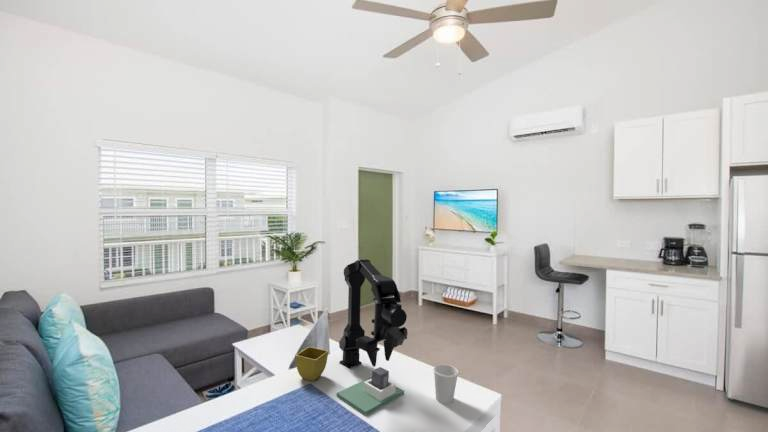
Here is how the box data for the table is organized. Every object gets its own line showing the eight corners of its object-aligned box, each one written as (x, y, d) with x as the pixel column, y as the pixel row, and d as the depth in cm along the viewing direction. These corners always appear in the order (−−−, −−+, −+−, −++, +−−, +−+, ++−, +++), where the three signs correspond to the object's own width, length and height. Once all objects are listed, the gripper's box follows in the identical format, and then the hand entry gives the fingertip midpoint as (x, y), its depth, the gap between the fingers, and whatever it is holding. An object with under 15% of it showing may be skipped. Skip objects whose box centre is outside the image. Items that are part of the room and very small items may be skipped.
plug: (370, 391, 115) (372, 370, 115) (379, 387, 118) (380, 366, 118) (380, 396, 112) (381, 375, 112) (388, 392, 115) (389, 371, 115)
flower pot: (293, 379, 123) (294, 354, 123) (307, 369, 131) (309, 346, 131) (314, 385, 120) (315, 360, 120) (327, 374, 128) (328, 350, 128)
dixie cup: (429, 402, 113) (430, 372, 113) (434, 390, 121) (436, 362, 121) (454, 409, 110) (456, 378, 110) (458, 396, 118) (460, 367, 117)
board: (336, 396, 114) (336, 383, 114) (375, 378, 127) (375, 367, 127) (365, 415, 104) (366, 402, 104) (403, 394, 117) (404, 382, 117)
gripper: (380, 330, 102) (378, 382, 103) (419, 317, 116) (416, 363, 116) (355, 320, 110) (353, 368, 111) (394, 309, 124) (392, 352, 124)
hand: (380, 363), depth 115 cm, fingers open, 6 cm apart
